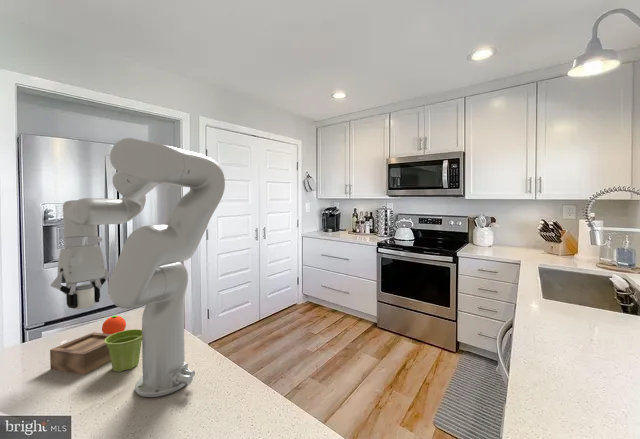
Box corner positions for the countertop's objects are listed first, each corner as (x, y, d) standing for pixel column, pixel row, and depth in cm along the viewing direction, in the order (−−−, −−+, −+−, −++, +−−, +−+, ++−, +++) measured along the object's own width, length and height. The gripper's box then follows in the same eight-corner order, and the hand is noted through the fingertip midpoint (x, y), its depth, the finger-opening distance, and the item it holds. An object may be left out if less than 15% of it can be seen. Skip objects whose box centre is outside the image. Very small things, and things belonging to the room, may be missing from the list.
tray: (124, 354, 88) (124, 335, 88) (84, 376, 76) (84, 354, 76) (93, 350, 90) (93, 332, 90) (50, 370, 79) (50, 349, 79)
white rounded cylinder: (88, 303, 86) (87, 283, 86) (99, 304, 85) (98, 284, 85) (69, 308, 82) (68, 287, 82) (79, 309, 80) (78, 288, 80)
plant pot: (125, 377, 75) (124, 344, 74) (96, 373, 77) (95, 341, 76) (153, 359, 84) (152, 330, 84) (126, 356, 86) (125, 328, 86)
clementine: (104, 333, 102) (104, 313, 102) (127, 329, 106) (127, 310, 106) (99, 342, 95) (99, 321, 95) (124, 337, 99) (124, 317, 99)
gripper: (104, 240, 92) (107, 296, 93) (36, 245, 77) (39, 313, 77) (120, 240, 90) (122, 297, 90) (52, 245, 74) (55, 315, 74)
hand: (84, 304), depth 83 cm, fingers closed on white rounded cylinder, 5 cm apart
